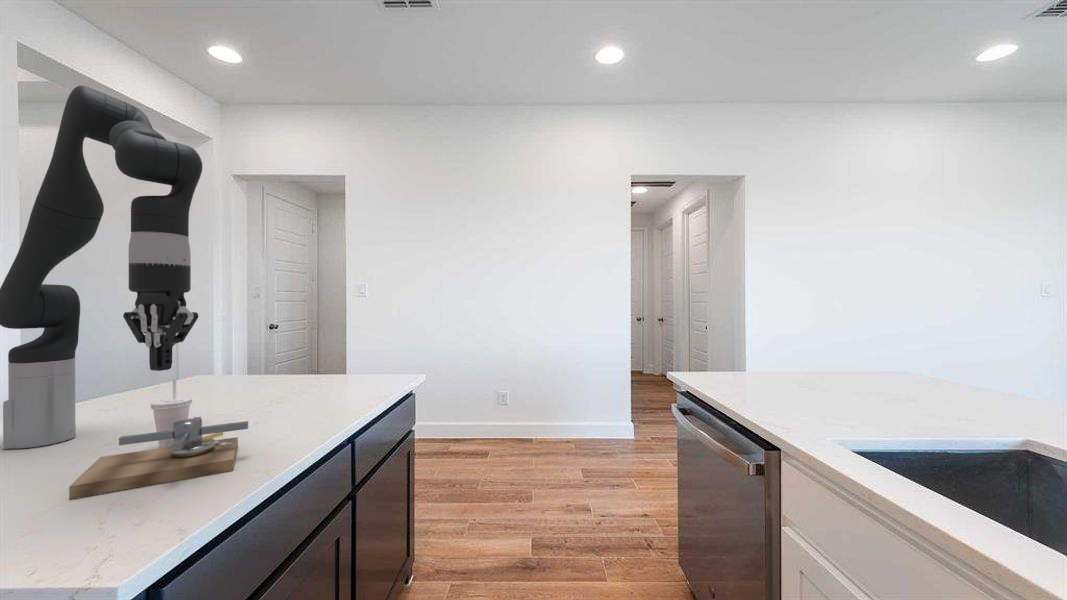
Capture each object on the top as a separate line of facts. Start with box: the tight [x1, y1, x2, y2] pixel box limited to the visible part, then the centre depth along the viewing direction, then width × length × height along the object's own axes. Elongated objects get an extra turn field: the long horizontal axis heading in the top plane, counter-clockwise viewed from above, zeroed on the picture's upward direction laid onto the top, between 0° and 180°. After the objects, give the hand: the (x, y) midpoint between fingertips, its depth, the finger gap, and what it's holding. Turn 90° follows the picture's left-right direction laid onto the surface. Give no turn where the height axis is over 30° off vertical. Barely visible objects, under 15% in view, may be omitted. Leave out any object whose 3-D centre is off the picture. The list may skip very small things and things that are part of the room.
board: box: [68, 436, 239, 500], centre depth 74 cm, size 20×14×2 cm
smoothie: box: [150, 378, 193, 449], centre depth 85 cm, size 6×6×14 cm
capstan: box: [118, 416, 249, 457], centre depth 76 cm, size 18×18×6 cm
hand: (160, 369), depth 68 cm, fingers closed
